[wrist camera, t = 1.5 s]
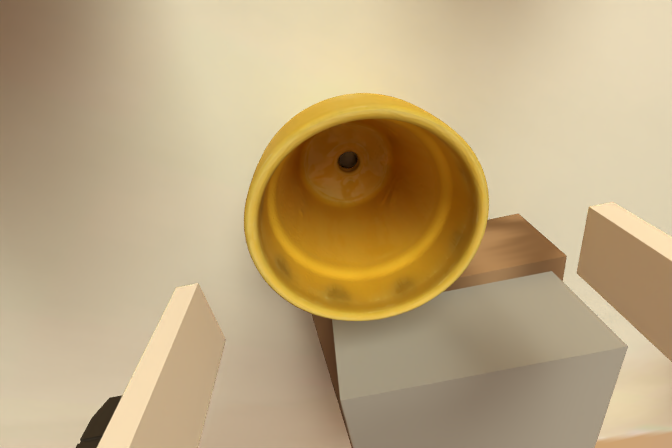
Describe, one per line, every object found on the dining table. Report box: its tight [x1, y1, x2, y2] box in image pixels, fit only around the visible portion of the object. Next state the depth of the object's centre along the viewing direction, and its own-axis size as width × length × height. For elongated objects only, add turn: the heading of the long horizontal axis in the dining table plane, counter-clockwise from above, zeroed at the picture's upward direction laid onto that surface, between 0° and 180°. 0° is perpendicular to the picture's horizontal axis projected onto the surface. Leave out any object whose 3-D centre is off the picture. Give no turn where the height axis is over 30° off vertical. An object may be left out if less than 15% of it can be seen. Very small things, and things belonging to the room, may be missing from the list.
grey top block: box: [332, 271, 628, 448], centre depth 23 cm, size 14×14×6 cm
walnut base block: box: [312, 214, 567, 448], centre depth 29 cm, size 16×16×6 cm
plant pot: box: [244, 93, 489, 321], centre depth 19 cm, size 10×10×10 cm
